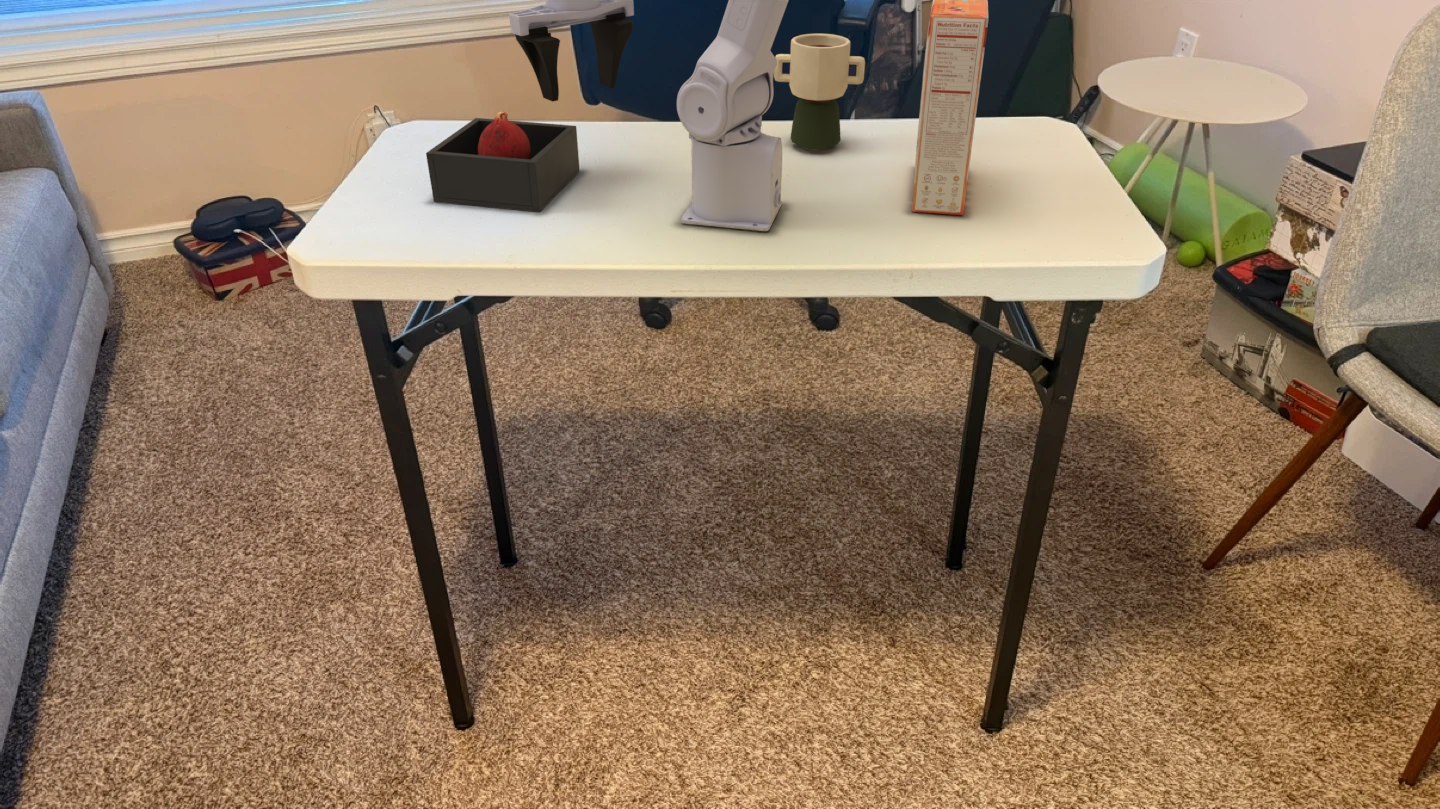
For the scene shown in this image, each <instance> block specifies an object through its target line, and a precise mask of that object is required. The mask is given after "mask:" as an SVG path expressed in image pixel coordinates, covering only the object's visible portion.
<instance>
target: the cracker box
mask: <svg viewBox="0 0 1440 809" xmlns="http://www.w3.org/2000/svg"><path fill="white" fill-rule="evenodd" d="M928 20H929V21H928V27H927V35H926V44H925V53H924V62H923V71H922V72H923V73H922V82H921V83H922V84H921V94H920V104H919V116H918V125H917V126H918V127H917V136H916V138H917V139H916V150H915V163H914V174H913V188H912V203H911V204H912V207H911V211H912V212H914V213H925V214H927V213H929V214H940V215H941V214H943V215H957V216H963V215H964V212H965V207H966V206H965V205H966V196H967V190H968V189H967V188H968V180H969V173H970V165H971V156H972V150H973V149H972V148H973V140H974V133H975V125H976V117H977V111H978V104H979V103H978V102H979V95H980V87H981V80H982V74H983V73H982V72H983V65H984V57H985V49H986V43H987V35H988V29H989V27H988V24H989V0H932V2H931V8H930V14H929V19H928Z"/></svg>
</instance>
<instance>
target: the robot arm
mask: <svg viewBox="0 0 1440 809" xmlns="http://www.w3.org/2000/svg"><path fill="white" fill-rule="evenodd" d="M544 1H545V3H543V4H540V5H537V6H534V7H529V8H527V9H524V10H521V11H517V12H512V13H509V14H508V16H509V18H508V19H509V26H510V33H511V34H513V35H514V36H515V40H516V41H517V43H518V44H519V47H521V49H522V50H523V52H524V54H525V56H526V57H527V60H528V61H529V63H530V65H531V67H532V69H533V72H534V74H535V77H536V80H537V82H538V85H539V88H540V91H541V95H542V97H543V99H545V100H548V101H550V102H558V101H559V98H560V97H559V95H560V91H559V89H560V87H559V78H558V60H559V49H560V45H561V44H560V43H561V40H560V39H559V38H557V37H555V36H552V33H551V32H549V30H553V29H557V28H563V27H569V26H575V25H579V24H585V23H589V26H590V29H591V33H592V37H593V42H594V46H595V51H596V61H597V63H596V64H597V73H598V80H599V84H600V85H601V86H603V87H605V88H609V89H614V88H616V86H617V85H616V84H617V79H618V74H619V69H620V68H619V67H620V64H621V60H622V56H623V53H624V50H625V47H626V45H627V42H628V41H629V38H630V36H631V34H632V33H633V30H634V22H633V20H632V19H629V18H626V17H632V16H635V5H634V0H544ZM788 3H789V0H728V1H727V4H726V7H725V11H724V14H723V17H722V19H721V23H720V26H719V29H718V31H717V35H716V37H715V38H714V39H713V41H712V42H711V43H710V44H709V46H708V47H707V48H706V50H705V51H704V52H703V53H702V55H701V56H700V57H699V58H698V59H697V62H696V64H695V68H694V71H693V73H692V75H690V77H689V78H688V79H687V80H686V81H685V82H684V83H682V85H681V86H680V88H679V91H678V92H677V97H676V111H677V115H678V118H679V121H680V123H681V125H682V126H683V127H684V129H685V131H686V132H688V138H689V139H690V142H691V144H690V147H691V148H690V149H691V150H690V151H691V154H690V155H691V203H690V205H689V206H688V207H687V209H686V211H685V212H684V213H683V215H682V217H681V218H680V222H681V224H688V225H695V226H696V225H698V226H706V227H707V226H709V227H717V228H726V229H727V228H728V229H738V230H747V231H757V232H768V231H769V230H771V227H772V225H773V223H774V221H775V218H776V217H777V214H778V212H779V211H780V208H781V206H782V200H781V199H782V176H783V174H782V173H783V168H782V167H783V142H782V138H780V137H778V136H773V135H769V134H766V133H764V132H761V131H762V127H763V123H762V122H763V115H764V114H766V113H767V111H768V110H769V108H770V107H771V105H772V103H773V100H774V92H775V91H774V71H775V68H776V65H777V60H776V58H775V57H776V56H775V55H774V54H773V52H772V51H771V49H772V47H773V44H774V42H775V38H776V36H777V33H778V31H779V28H780V25H781V22H782V19H783V17H784V14H785V11H786V9H787V5H788Z"/></svg>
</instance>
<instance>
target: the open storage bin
mask: <svg viewBox="0 0 1440 809" xmlns="http://www.w3.org/2000/svg"><path fill="white" fill-rule="evenodd" d="M494 119H495V118H494ZM494 119H493V118H482V117H475V118H473V119H472V120H471V121H469V122H468V123H466V124H465V125H464V126H462V127H461V128H459V129H458V130H457V131H455V132H453V133H452V134H451V135H449V136H448V137H446V138H445V139H443V141H441V142H439V143H438V144H436V145H435V146H434V147H432V148H431V149H429V150H428V151H426V153H425V154H426V155H425V156H426V162H427V168H428V174H429V180H430V187H431V193H432V198H433V202H434V203H444V204H454V205H464V206H474V207H483V208H495V209H505V210H516V211H524V212H536V213H541V211H543V210H544V209H545V208H546V206H548V204H550V203H551V202H552V200H554V199H555V198H556V197H557V196H558V195H559V194H560V193H561V192H562V191H563V190H564V188H565V187H566V186H567V185H569V184H570V183H571V182H572V181H573V180H574V179H575V177H577V175H579V173H580V172H581V170H580V156H579V142H578V131H577V125H569V124H557V123H545V122H533V121H530V122H529V121H519V120H510V121H511V122H513V123H515V124H516V125H518V126H519V127H520V128H521V129H522V130H523V131H524V132H525V134H526V135H527V137H528V139H529V143H530V149H531V155H530V159H518V158H507V157H495V156H484V155H478V144H479V139H480V136H481V134H482V132H483V131H484V129H485V128H486V127H487V126H488V125H489V124H490V123H492V122H493V121H494Z"/></svg>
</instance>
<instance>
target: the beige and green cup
mask: <svg viewBox="0 0 1440 809" xmlns="http://www.w3.org/2000/svg"><path fill="white" fill-rule="evenodd" d="M774 57H775V58H776V60H777V65H776V68H775V71H774V74H773V79H774V81H775V82H779V83H788V86H789V89H790V92H791V94H792V95H793V96H795V97H797V98H798V99H797V102H796V104H795V108H794V114H793V119H792V123H791V131H790V138H789V139H790V141H791V143H792V144H794V145H795V146H797V147H799V148H802V149H806V150H813V151H821V150H826V149H827V150H828V149H831V148H833V147H836V146H837V145H839V143H840V142H841V121H840V120H841V119H840V107H839V104H838V101H837V100H836V99H839V98H842V97H844V95H845V93H846V90H847V89H848V86H849V85H861V84H863V83H864V80H865V71H866V70H865V68H866V60H865V57H863V56H859V55H858V56H856V55H851V40H849V38H847V37H844V36H843V35H837V34H833V33H805V34H799V35H797V36H794V37H792V39H791V40H790V53H778V54H776V55H775V56H774ZM783 63H789V73H783ZM850 65H856V70H855V72H856V73H855V75H849V69H850Z"/></svg>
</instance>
